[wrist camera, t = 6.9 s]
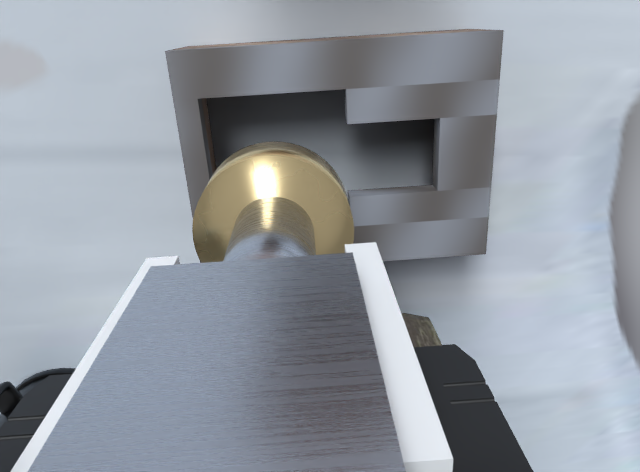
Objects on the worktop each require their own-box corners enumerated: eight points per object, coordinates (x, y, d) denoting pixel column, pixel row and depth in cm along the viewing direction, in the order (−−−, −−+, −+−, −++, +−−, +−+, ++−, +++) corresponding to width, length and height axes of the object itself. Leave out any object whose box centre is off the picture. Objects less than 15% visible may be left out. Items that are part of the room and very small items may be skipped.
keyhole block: (215, 236, 31) (202, 274, 26) (187, 46, 27) (165, 51, 22) (457, 220, 31) (485, 254, 27) (468, 28, 27) (503, 30, 22)
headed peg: (213, 282, 19) (42, 819, 6) (192, 146, 17) (-128, 527, 4) (350, 272, 19) (460, 782, 6) (345, 136, 17) (493, 481, 4)
